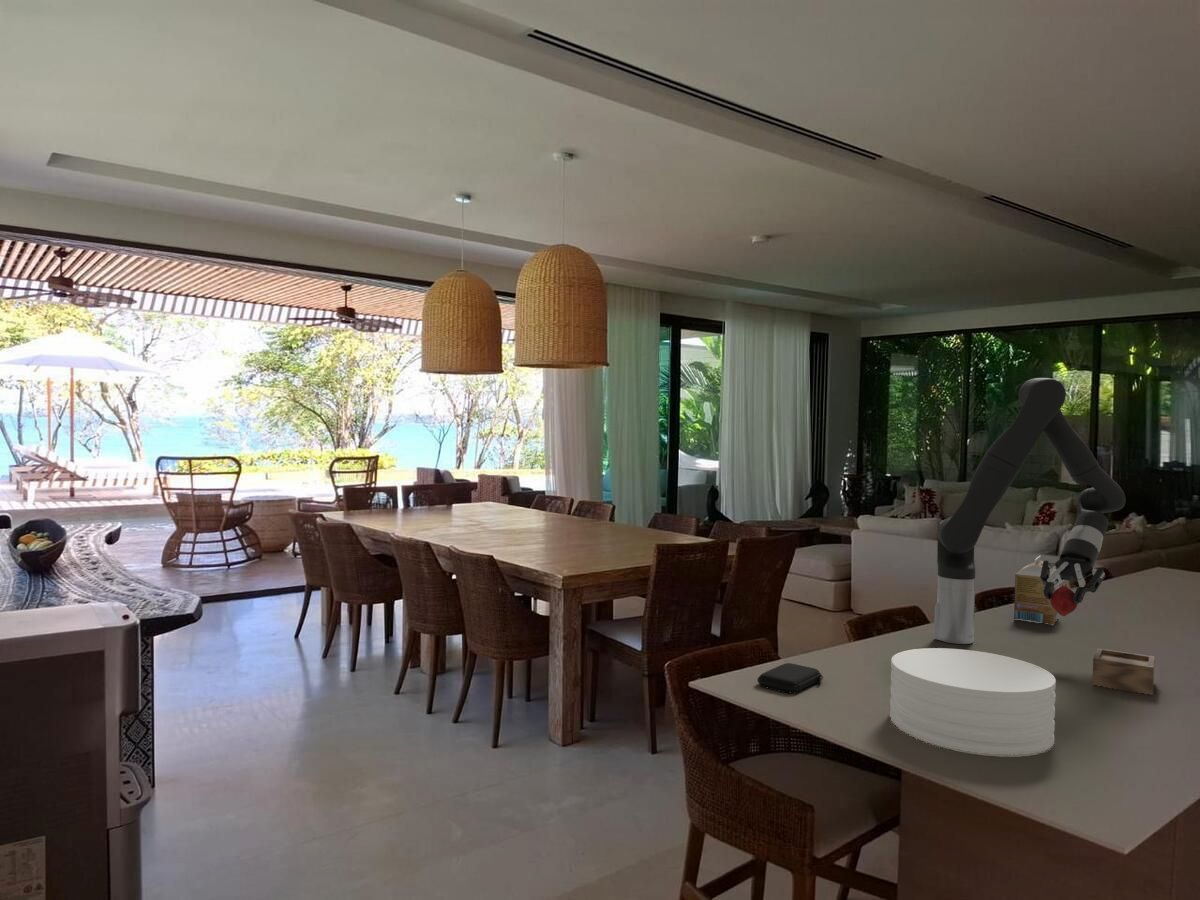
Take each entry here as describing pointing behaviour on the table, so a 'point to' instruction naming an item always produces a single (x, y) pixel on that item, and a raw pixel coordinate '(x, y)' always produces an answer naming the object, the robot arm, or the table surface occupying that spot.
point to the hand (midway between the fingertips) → (1061, 599)
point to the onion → (1063, 600)
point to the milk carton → (1033, 595)
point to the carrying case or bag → (790, 677)
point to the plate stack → (973, 700)
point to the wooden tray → (1123, 671)
